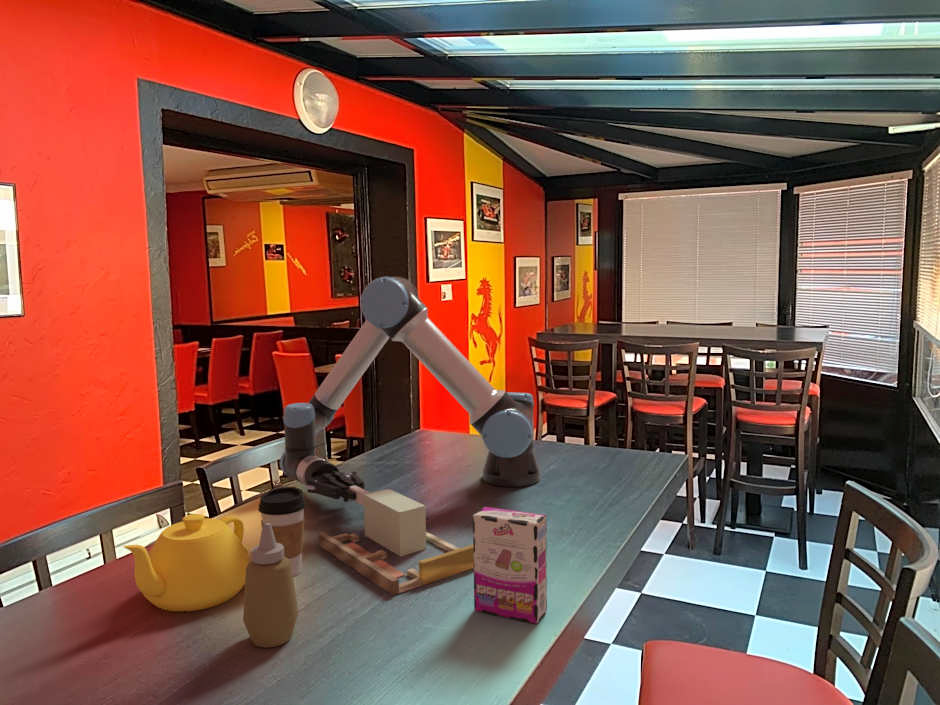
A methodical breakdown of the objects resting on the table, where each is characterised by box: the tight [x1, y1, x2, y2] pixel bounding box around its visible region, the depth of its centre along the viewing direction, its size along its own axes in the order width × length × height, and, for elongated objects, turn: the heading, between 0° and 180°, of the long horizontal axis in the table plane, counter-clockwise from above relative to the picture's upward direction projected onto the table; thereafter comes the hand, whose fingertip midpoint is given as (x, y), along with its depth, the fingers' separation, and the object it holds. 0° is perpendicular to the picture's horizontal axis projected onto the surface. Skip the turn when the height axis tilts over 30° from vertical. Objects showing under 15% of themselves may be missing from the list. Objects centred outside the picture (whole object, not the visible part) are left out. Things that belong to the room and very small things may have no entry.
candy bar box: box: [472, 506, 548, 624], centre depth 114 cm, size 11×5×16 cm, turn 65°
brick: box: [363, 488, 427, 557], centre depth 145 cm, size 14×6×9 cm, turn 38°
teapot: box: [123, 513, 250, 613], centre depth 122 cm, size 25×18×14 cm
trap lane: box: [318, 531, 474, 596], centre depth 138 cm, size 28×20×4 cm
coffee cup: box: [258, 486, 306, 577], centre depth 130 cm, size 8×8×15 cm
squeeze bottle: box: [242, 523, 299, 649], centre depth 107 cm, size 8×8×18 cm
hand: (367, 499), depth 153 cm, fingers closed
